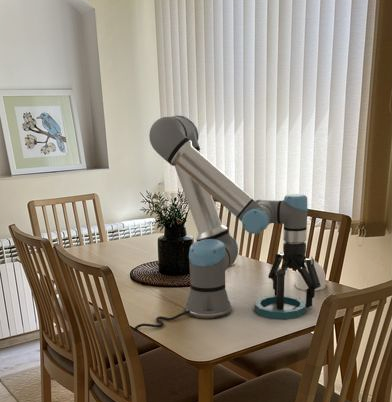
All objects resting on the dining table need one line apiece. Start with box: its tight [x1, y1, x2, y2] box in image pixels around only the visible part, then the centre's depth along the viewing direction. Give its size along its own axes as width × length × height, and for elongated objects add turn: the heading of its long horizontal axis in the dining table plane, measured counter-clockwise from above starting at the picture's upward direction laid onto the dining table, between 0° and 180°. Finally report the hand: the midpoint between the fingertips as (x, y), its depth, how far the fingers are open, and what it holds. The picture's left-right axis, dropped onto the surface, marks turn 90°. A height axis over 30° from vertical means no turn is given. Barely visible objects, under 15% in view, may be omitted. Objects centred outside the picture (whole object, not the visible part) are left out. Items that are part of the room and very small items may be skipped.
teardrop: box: [295, 255, 326, 292], centre depth 205 cm, size 11×11×12 cm
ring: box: [254, 294, 307, 320], centre depth 183 cm, size 17×17×2 cm
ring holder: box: [263, 267, 297, 310], centre depth 181 cm, size 8×8×14 cm
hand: (292, 302), depth 189 cm, fingers closed on ring, 12 cm apart
